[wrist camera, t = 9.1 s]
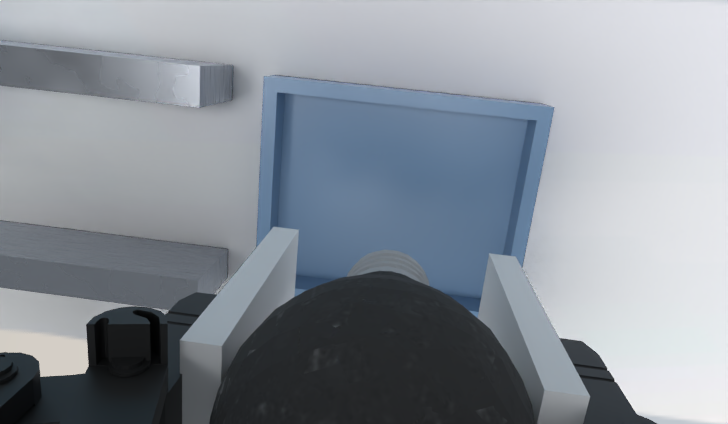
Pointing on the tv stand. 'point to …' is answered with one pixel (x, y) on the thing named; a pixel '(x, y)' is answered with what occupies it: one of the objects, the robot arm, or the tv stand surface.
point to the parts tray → (399, 178)
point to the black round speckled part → (373, 357)
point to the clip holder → (98, 250)
